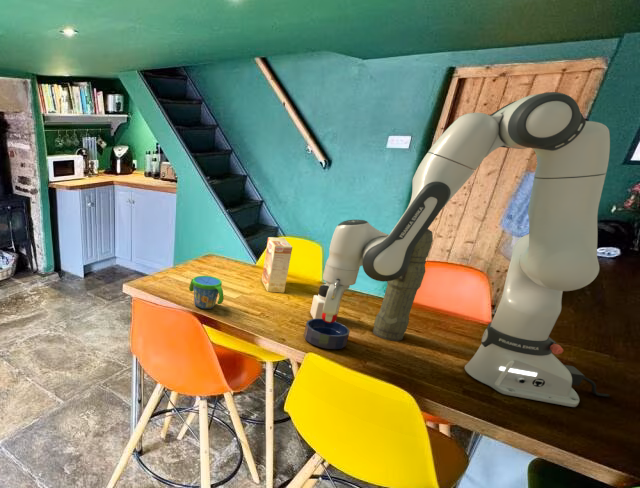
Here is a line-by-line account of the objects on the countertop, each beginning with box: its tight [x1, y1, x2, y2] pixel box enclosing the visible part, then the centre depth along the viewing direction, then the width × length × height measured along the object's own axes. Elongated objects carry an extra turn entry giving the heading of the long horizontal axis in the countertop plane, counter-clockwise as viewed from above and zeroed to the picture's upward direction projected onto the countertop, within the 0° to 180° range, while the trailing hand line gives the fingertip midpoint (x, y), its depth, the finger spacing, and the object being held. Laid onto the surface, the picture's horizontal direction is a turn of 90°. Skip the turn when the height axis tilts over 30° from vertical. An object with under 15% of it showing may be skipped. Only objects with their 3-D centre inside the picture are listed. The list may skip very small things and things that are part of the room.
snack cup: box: [188, 275, 224, 310], centre depth 149 cm, size 16×10×10 cm
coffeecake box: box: [261, 236, 293, 293], centre depth 168 cm, size 15×7×20 cm, turn 172°
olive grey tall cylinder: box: [372, 228, 434, 342], centre depth 125 cm, size 9×12×35 cm
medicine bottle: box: [309, 284, 341, 322], centre depth 141 cm, size 7×7×12 cm
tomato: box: [322, 313, 338, 323], centre depth 123 cm, size 4×4×4 cm
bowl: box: [303, 318, 351, 350], centre depth 126 cm, size 12×12×5 cm
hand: (329, 317), depth 123 cm, fingers closed on tomato, 4 cm apart
